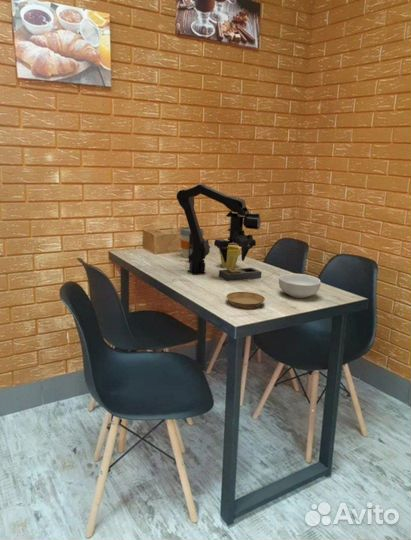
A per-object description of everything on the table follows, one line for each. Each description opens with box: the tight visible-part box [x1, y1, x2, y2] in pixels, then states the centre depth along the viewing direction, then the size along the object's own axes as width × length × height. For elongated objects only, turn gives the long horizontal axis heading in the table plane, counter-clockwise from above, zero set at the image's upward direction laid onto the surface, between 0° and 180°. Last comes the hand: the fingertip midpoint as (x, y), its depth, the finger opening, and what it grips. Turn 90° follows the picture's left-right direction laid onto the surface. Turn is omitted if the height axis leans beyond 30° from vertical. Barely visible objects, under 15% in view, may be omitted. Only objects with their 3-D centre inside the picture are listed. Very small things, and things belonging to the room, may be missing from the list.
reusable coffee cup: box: [179, 226, 204, 259], centre depth 244 cm, size 13×13×15 cm
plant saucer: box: [225, 291, 266, 309], centre depth 174 cm, size 15×15×3 cm
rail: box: [218, 267, 263, 282], centre depth 210 cm, size 18×8×3 cm, turn 117°
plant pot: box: [218, 245, 241, 269], centre depth 228 cm, size 10×10×10 cm
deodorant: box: [187, 233, 193, 264], centre depth 232 cm, size 6×6×15 cm
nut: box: [226, 268, 239, 274], centre depth 208 cm, size 4×4×4 cm
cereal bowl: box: [278, 273, 321, 299], centre depth 187 cm, size 17×17×7 cm
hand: (234, 261), depth 207 cm, fingers open, 9 cm apart
